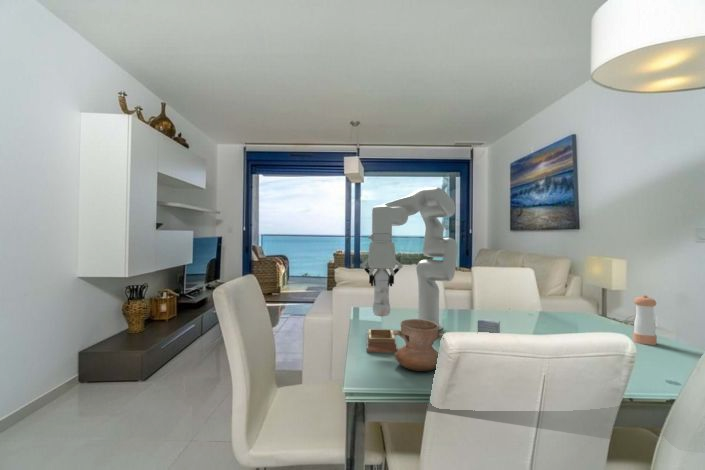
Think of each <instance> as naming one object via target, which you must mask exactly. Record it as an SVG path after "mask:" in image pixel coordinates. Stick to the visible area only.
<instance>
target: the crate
mask: <svg viewBox="0 0 705 470" xmlns="http://www.w3.org/2000/svg"><path fill="white" fill-rule="evenodd" d="M395 341H396V337H395V335H394V334H393V329H392V328H389V329H386V328H384V329H383V328H382V329H381V328H378V329H377V328H368V343H386V344H395Z"/></svg>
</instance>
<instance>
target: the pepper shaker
mask: <svg viewBox="0 0 705 470" xmlns="http://www.w3.org/2000/svg"><path fill="white" fill-rule="evenodd" d="M633 302H634V305H635V306H636V307H635V319H634V322H633V325H634V327H633V328H634V331H633V332H632V335H633V336H632V340H633V342H635V343H637V344H640V345H641V344H642V345H647V346H656V345H657V343H658V340H657V336H658V335H656V328H657V327H656V321H655V315H654V314H655V313H654V312H655V309H654V307H655V306H657V302H656V300H655V299H654V298H652V297H649V296H648V295H646V294H645V295H644V294H643V295H642V296H638V297H635V298H634V299H633Z"/></svg>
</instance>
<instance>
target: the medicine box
mask: <svg viewBox="0 0 705 470" xmlns="http://www.w3.org/2000/svg"><path fill="white" fill-rule="evenodd" d="M478 332H489V333H500V334H501V321H500V320H495V319H487V318H479V319H478V320H477V333H478Z"/></svg>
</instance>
